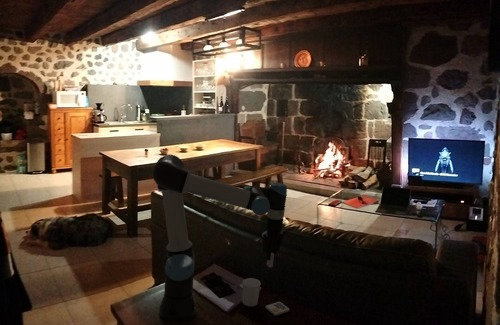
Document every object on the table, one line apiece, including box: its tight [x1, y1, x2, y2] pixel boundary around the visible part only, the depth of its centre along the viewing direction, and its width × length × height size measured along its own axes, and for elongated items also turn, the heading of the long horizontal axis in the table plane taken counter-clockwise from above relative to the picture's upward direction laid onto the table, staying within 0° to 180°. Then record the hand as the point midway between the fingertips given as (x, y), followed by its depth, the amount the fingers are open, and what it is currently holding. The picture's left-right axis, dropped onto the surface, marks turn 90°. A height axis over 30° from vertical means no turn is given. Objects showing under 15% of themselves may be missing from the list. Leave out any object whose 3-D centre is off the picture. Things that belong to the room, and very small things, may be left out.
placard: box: [265, 301, 291, 316], centre depth 178 cm, size 7×8×1 cm
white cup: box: [242, 277, 261, 307], centre depth 181 cm, size 8×8×10 cm
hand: (269, 266), depth 185 cm, fingers closed
